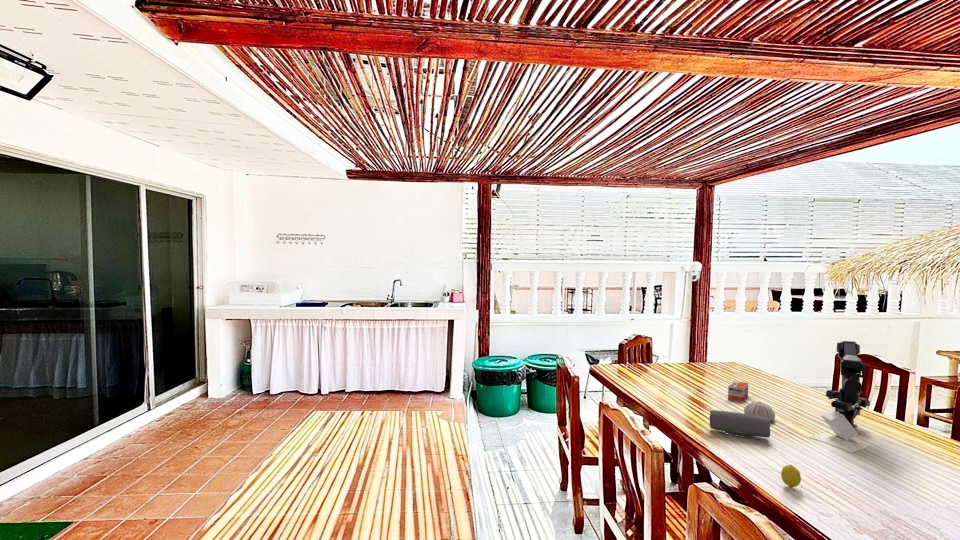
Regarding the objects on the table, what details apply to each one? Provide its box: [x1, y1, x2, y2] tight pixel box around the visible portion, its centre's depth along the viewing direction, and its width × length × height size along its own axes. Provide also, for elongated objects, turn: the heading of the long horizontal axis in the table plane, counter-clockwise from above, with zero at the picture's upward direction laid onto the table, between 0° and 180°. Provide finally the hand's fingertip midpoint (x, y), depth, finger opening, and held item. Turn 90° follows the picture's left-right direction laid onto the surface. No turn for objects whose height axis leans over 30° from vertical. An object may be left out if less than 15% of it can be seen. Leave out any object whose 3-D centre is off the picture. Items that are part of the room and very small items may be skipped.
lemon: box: [780, 464, 802, 489], centre depth 146 cm, size 6×6×8 cm
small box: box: [821, 409, 859, 442], centre depth 188 cm, size 8×6×10 cm
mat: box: [809, 432, 867, 453], centre depth 183 cm, size 11×16×1 cm
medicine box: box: [727, 380, 749, 403], centre depth 243 cm, size 15×8×8 cm, turn 139°
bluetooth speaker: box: [709, 409, 771, 439], centre depth 190 cm, size 23×9×10 cm, turn 65°
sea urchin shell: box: [743, 401, 776, 422], centre depth 212 cm, size 13×14×8 cm
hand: (849, 422), depth 187 cm, fingers closed
